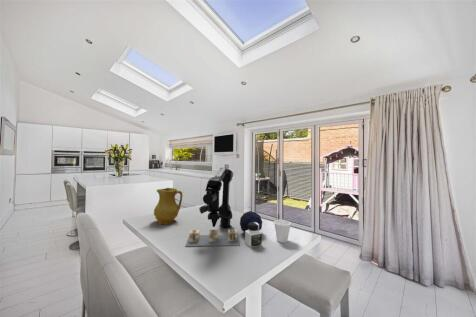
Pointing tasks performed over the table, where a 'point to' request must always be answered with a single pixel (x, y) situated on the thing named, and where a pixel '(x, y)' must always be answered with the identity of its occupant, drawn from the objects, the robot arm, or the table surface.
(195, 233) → the marked block
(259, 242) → the medicine bottle
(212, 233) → the plain block
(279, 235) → the cup
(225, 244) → the mat
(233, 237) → the marked block
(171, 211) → the pitcher
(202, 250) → the table surface
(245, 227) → the decorative orb
